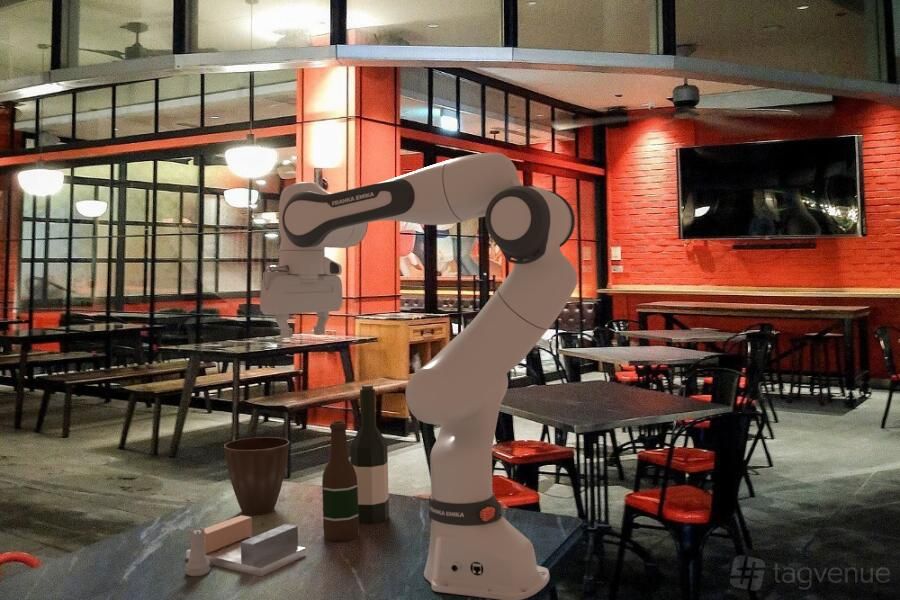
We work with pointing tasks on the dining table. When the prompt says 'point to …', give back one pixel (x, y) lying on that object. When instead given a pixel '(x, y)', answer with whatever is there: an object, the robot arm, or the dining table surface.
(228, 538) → the block
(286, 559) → the vise base
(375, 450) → the wine bottle
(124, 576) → the dining table surface
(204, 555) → the rook chess piece
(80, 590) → the dining table surface
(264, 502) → the plant pot
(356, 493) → the beer bottle
